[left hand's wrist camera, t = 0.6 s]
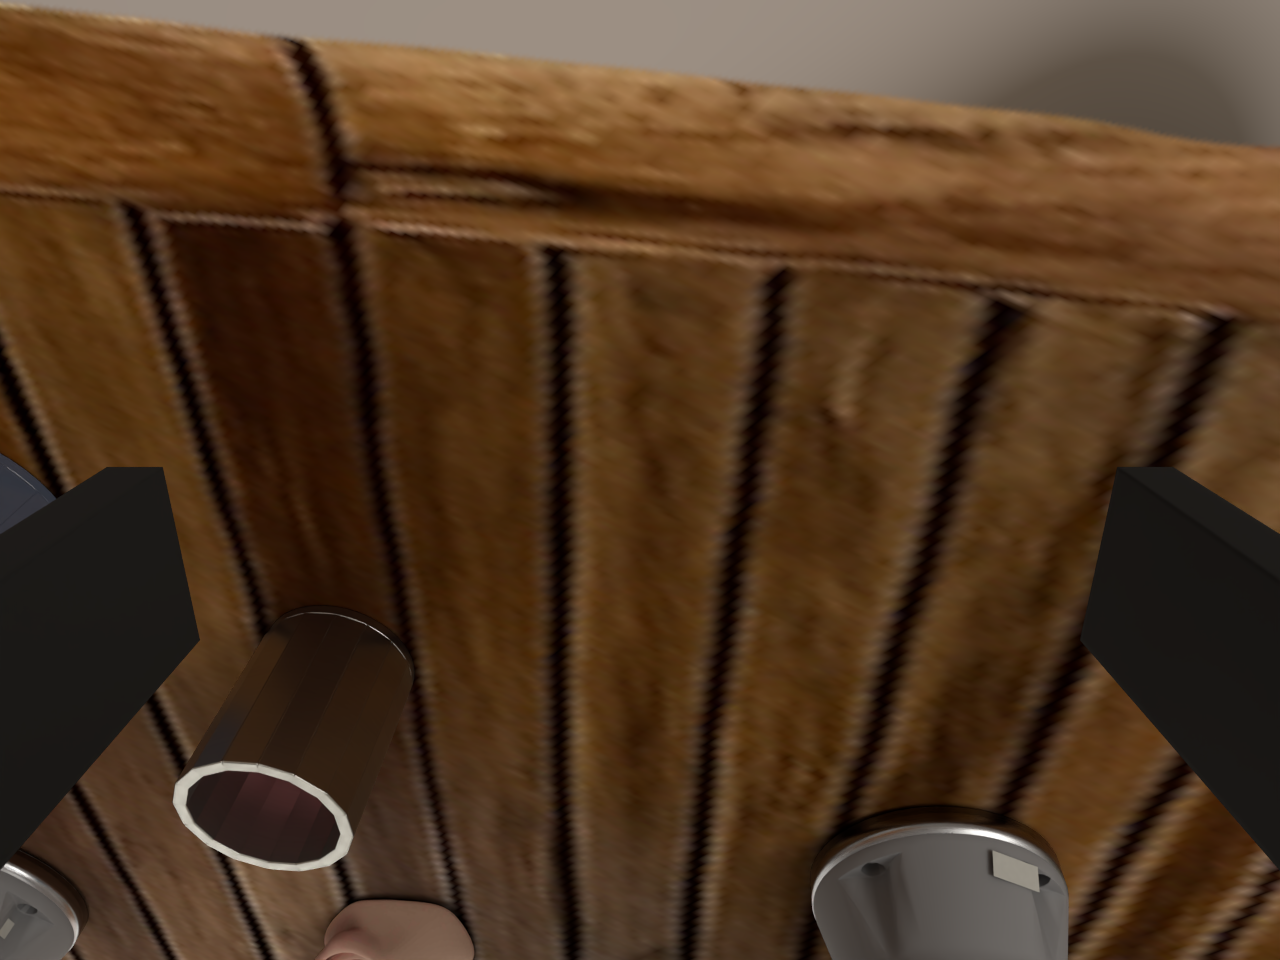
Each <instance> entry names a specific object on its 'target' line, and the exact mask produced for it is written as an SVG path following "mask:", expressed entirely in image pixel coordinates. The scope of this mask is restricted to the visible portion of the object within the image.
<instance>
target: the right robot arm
mask: <svg viewBox="0 0 1280 960" xmlns="http://www.w3.org/2000/svg"><path fill="white" fill-rule="evenodd" d="M87 920H88V911H87V907H86V905H85V902H84V900H83V899H82V897H81V896H80V894H79V893H78V891H77V890H76V889H75V888H74V887H73V886H72V885H71V884H70V883H69V882H68V881H67V880H66V879H65V878H64V877H63V876H61V875H60V874H59V873H57V872H56V871H55V870H53V869H52V868H51V867H49V866H47V865H46V864H44V863H43V862H41V861H39V860H38V859H36V858H34V857H32V856H30V855H28V854H26V853H24V852H22V851H20V850H17V851H16V853H15V854H14V855H13V856H12V857H11V858H10V860H9V861H8V862H7V863H6V864H5V865H4V866H3V868H2V869H1V870H0V960H61V959H62V958H63V957H64V956H65V954H66V953H67V952H68V951H69V950H70V949H71V948H72V947H73V945H74V943H75V942H76V940H77V938H78V937H79V935H80V933H81V932H82V930H83V929H84V927H85V925H86V923H87Z"/></svg>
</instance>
